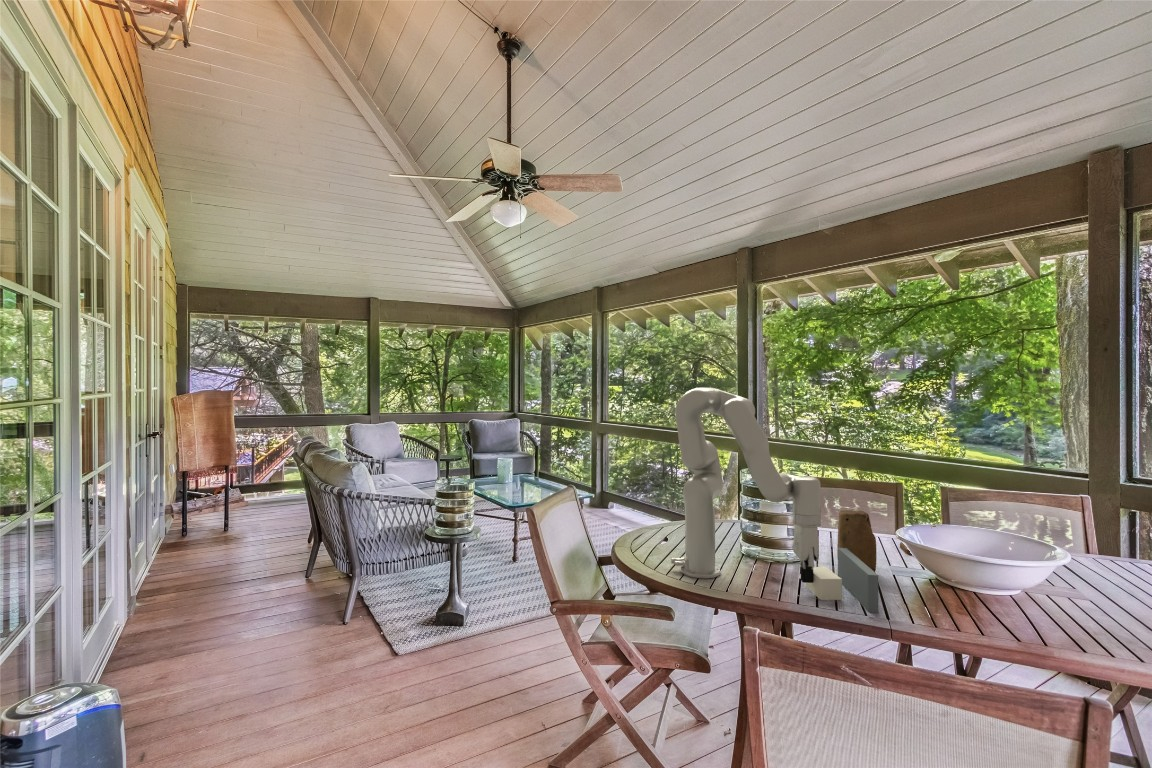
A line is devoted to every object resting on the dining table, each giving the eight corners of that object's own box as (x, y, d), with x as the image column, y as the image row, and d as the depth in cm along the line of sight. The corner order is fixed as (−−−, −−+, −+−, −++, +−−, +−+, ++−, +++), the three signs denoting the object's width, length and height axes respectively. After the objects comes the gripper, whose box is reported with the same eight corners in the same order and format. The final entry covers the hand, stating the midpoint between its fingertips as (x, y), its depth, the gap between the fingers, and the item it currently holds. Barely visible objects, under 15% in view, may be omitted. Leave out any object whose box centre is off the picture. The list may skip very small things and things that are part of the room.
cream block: (820, 600, 152) (820, 578, 152) (806, 586, 162) (805, 566, 162) (841, 600, 152) (841, 579, 152) (826, 586, 162) (825, 567, 162)
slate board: (868, 612, 144) (868, 574, 144) (837, 579, 167) (837, 547, 167) (878, 612, 143) (878, 575, 143) (846, 580, 167) (846, 548, 167)
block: (839, 575, 171) (839, 512, 171) (836, 567, 178) (836, 507, 179) (878, 579, 168) (877, 515, 168) (873, 571, 175) (873, 510, 175)
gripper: (787, 512, 165) (787, 572, 165) (800, 525, 150) (800, 590, 150) (812, 513, 164) (812, 573, 164) (828, 526, 149) (828, 592, 149)
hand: (806, 581), depth 157 cm, fingers closed
